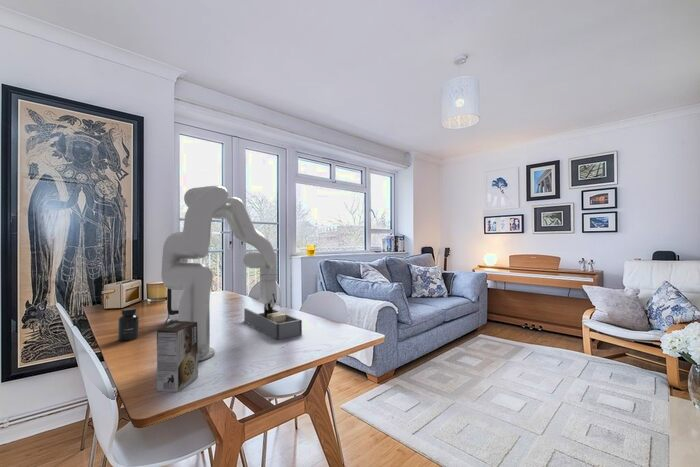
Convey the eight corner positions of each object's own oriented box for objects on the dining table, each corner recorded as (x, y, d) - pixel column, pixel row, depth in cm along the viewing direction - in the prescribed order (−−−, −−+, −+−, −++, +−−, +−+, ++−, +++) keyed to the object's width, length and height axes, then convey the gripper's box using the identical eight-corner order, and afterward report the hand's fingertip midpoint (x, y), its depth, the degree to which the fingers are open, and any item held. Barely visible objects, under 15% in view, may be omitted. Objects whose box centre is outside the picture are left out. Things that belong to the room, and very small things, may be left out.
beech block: (285, 323, 141) (285, 314, 141) (272, 325, 137) (272, 316, 137) (279, 320, 145) (279, 312, 146) (267, 323, 142) (267, 314, 142)
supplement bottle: (126, 342, 125) (126, 311, 125) (113, 340, 127) (114, 310, 127) (142, 337, 131) (142, 307, 131) (130, 335, 133) (130, 306, 134)
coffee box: (177, 376, 93) (177, 320, 93) (198, 377, 92) (198, 321, 93) (155, 391, 84) (155, 329, 84) (178, 392, 83) (178, 330, 83)
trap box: (301, 334, 132) (301, 320, 133) (276, 339, 126) (276, 324, 126) (265, 317, 163) (265, 305, 163) (244, 320, 156) (244, 308, 156)
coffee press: (159, 321, 157) (159, 260, 158) (194, 315, 168) (193, 258, 168) (167, 328, 144) (167, 261, 145) (204, 322, 155) (204, 259, 155)
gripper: (254, 277, 150) (254, 316, 150) (266, 280, 138) (267, 322, 138) (269, 275, 155) (270, 313, 155) (282, 278, 143) (283, 320, 143)
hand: (268, 318), depth 146 cm, fingers closed
